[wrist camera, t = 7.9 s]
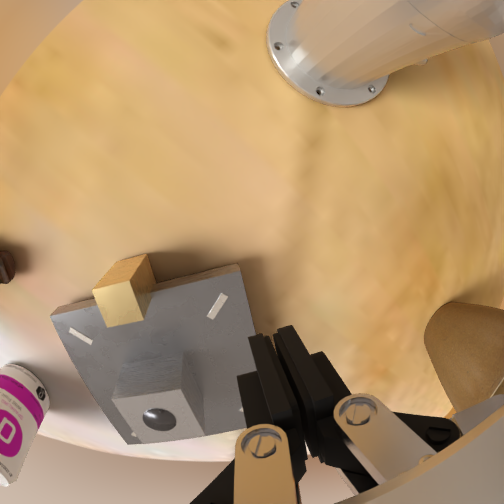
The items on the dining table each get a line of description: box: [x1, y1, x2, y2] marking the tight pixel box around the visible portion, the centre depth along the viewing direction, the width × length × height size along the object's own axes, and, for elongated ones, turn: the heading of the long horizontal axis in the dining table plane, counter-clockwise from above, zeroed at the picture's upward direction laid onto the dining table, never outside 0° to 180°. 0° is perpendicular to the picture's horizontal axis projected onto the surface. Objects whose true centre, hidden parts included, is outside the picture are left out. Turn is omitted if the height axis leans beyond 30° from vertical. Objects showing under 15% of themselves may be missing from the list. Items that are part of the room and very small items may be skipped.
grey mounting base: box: [50, 254, 257, 445], centre depth 24 cm, size 18×20×7 cm
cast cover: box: [112, 352, 205, 444], centre depth 23 cm, size 6×6×5 cm
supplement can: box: [0, 364, 50, 486], centre depth 19 cm, size 8×8×15 cm
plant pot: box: [424, 302, 504, 413], centre depth 26 cm, size 15×15×16 cm
